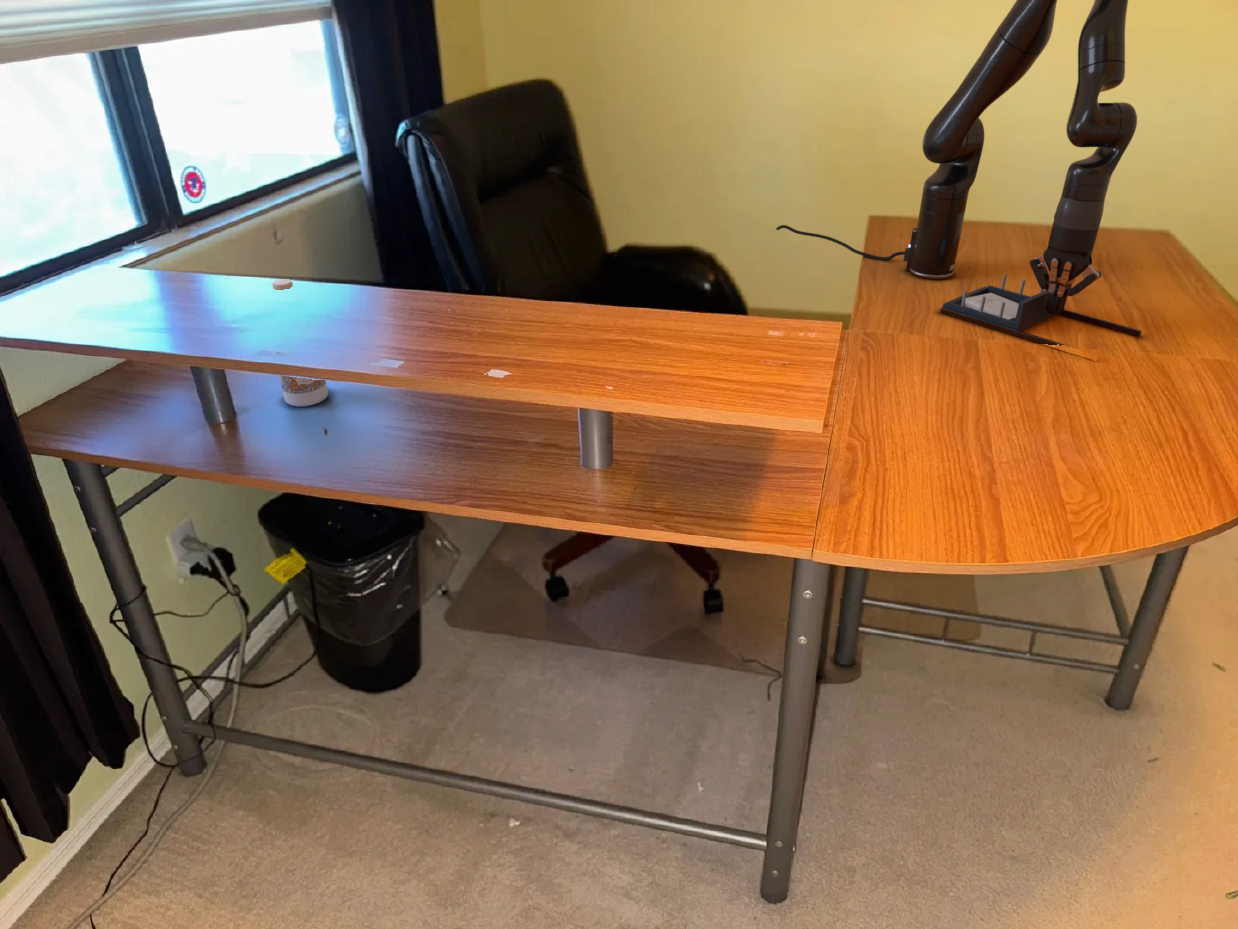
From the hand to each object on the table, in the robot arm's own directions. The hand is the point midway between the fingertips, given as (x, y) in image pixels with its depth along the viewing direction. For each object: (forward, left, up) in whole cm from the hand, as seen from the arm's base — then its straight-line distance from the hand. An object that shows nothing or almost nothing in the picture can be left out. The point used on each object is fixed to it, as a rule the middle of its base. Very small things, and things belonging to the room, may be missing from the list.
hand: (1053, 313), depth 166 cm
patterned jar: (-65, -120, -3) cm, 137 cm away
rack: (-10, 0, -3) cm, 11 cm away
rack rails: (-3, 0, -3) cm, 4 cm away
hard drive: (-10, 0, -3) cm, 11 cm away
